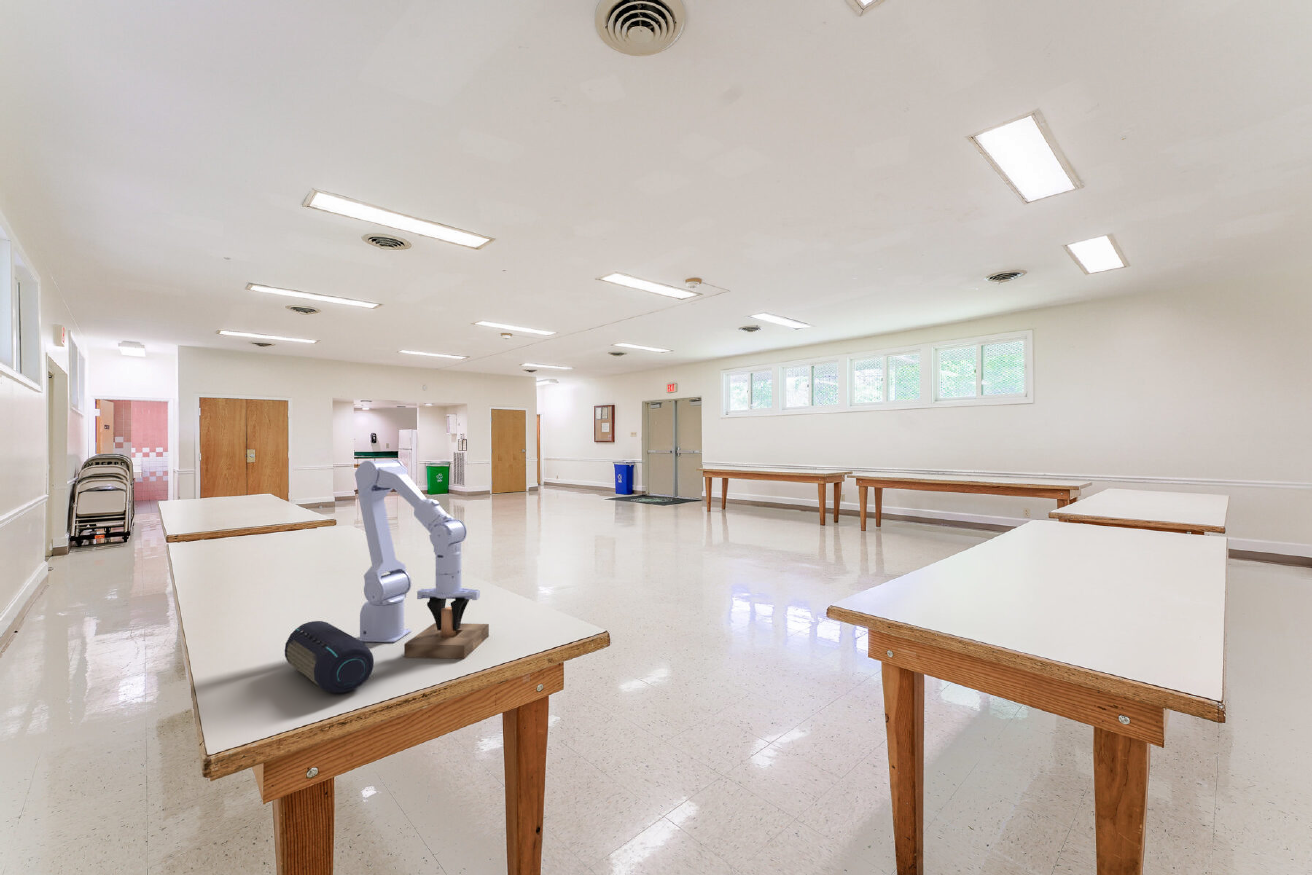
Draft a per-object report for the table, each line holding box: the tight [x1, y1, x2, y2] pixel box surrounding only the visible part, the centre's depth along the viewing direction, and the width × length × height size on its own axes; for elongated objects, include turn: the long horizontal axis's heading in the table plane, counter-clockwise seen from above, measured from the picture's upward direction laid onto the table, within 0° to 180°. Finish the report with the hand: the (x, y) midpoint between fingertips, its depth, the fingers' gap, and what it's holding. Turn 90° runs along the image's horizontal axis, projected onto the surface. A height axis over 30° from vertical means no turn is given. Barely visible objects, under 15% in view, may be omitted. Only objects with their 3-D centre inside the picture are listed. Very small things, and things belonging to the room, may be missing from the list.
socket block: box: [403, 622, 490, 660], centre depth 127 cm, size 14×14×3 cm
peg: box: [441, 606, 456, 638], centre depth 127 cm, size 3×3×7 cm
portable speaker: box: [284, 620, 375, 694], centre depth 110 cm, size 25×10×10 cm, turn 51°
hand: (448, 629), depth 127 cm, fingers open, 3 cm apart
